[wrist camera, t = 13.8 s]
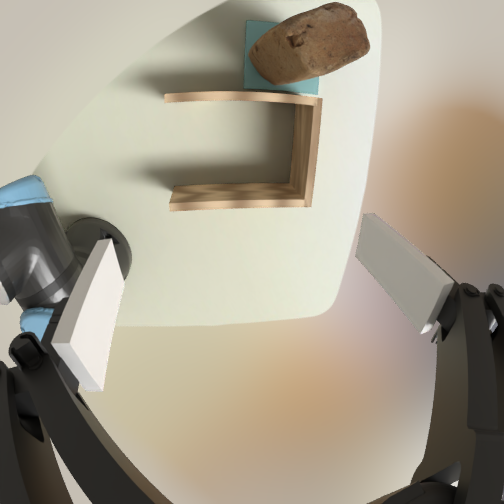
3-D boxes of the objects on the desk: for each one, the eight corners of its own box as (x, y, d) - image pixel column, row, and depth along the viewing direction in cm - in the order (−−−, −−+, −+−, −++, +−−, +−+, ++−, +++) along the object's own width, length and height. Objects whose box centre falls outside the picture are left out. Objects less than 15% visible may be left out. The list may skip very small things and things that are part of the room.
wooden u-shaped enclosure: (174, 192, 44) (169, 211, 38) (171, 95, 36) (164, 94, 29) (295, 189, 48) (311, 207, 41) (303, 97, 39) (322, 98, 32)
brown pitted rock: (265, 90, 37) (313, 86, 20) (239, 52, 33) (269, 18, 17) (321, 62, 36) (397, 50, 19) (298, 25, 32) (362, -12, 15)
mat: (243, 88, 37) (244, 88, 37) (246, 21, 31) (247, 20, 30) (316, 94, 39) (317, 94, 38) (319, 30, 33) (321, 30, 32)
